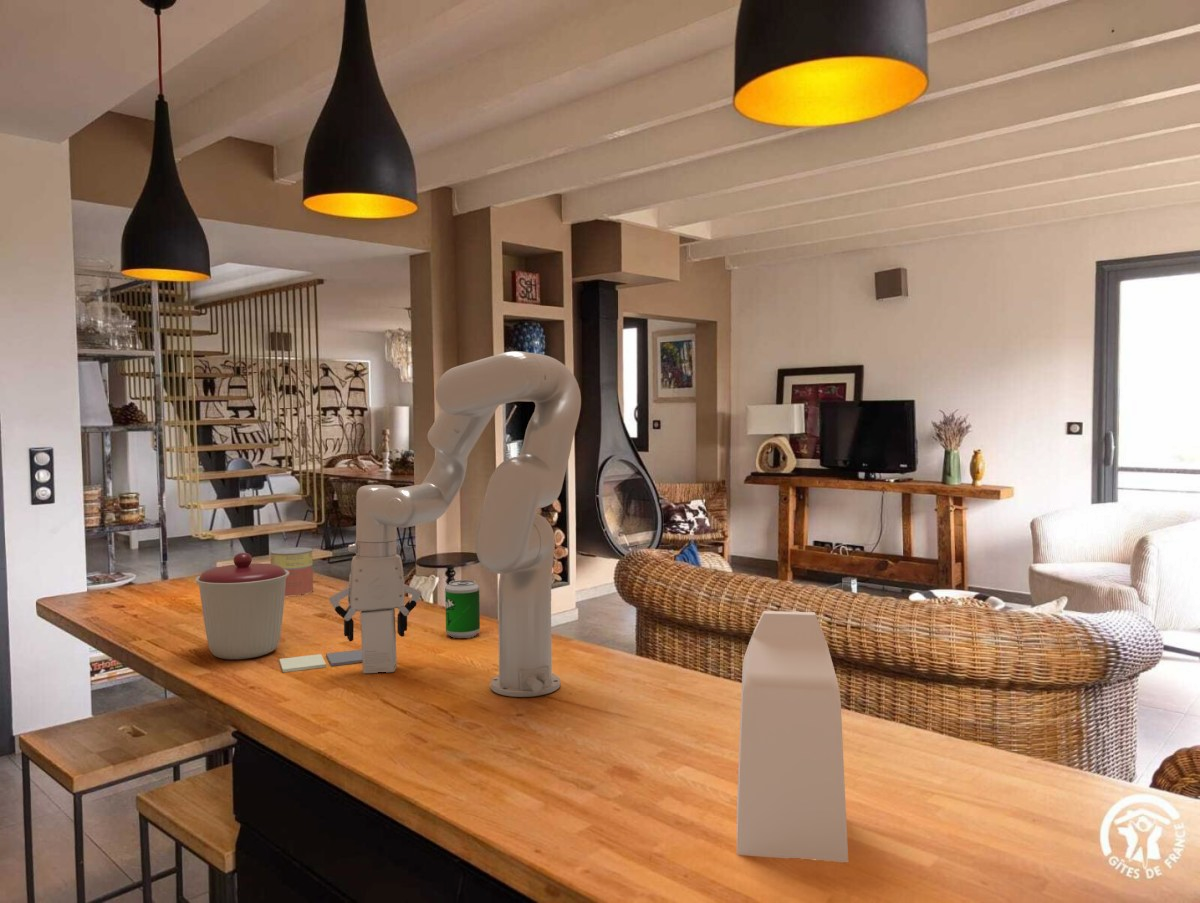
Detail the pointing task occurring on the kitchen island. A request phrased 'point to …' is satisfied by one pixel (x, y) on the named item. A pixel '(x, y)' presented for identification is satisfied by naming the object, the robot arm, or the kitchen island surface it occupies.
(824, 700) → the milk
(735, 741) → the kitchen island surface
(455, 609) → the soda can
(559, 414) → the robot arm
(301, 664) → the sage pad
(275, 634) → the canister
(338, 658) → the slate pad
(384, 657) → the skincare box
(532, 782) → the kitchen island surface
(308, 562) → the canned food
